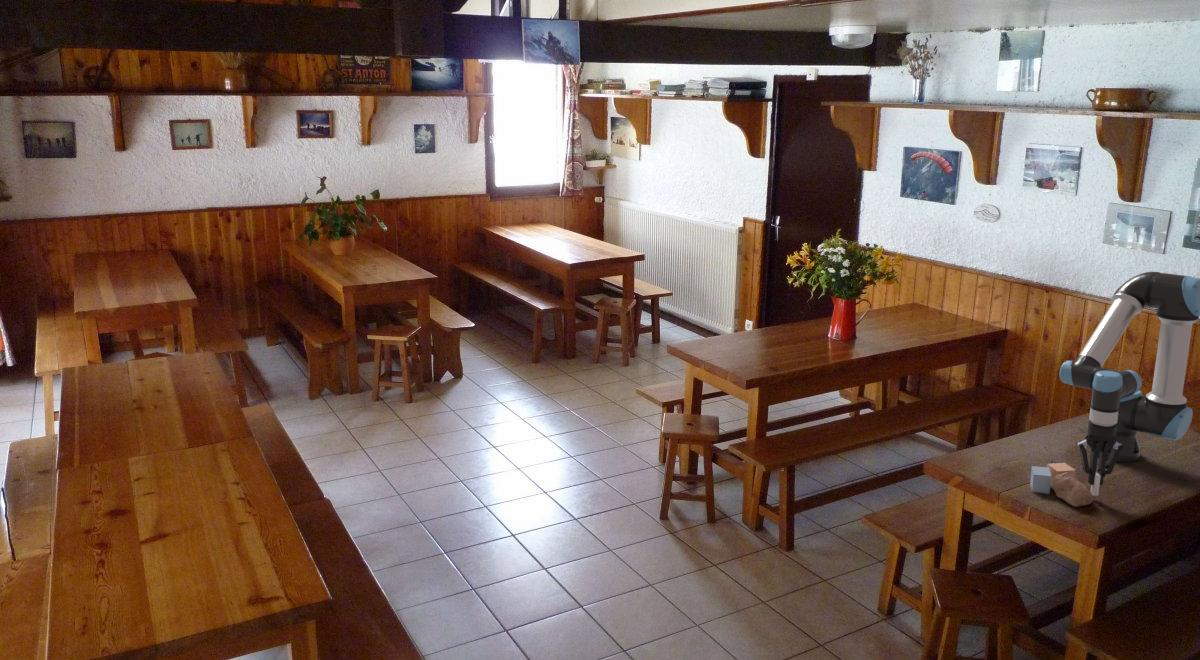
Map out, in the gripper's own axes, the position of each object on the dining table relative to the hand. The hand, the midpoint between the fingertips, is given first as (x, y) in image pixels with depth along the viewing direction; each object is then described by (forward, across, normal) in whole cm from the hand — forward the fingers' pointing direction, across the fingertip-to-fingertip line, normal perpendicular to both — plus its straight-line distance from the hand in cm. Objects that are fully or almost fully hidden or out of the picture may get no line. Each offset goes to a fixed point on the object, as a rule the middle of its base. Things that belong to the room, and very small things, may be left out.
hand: (1094, 494), depth 286 cm
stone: (+2, +6, 0) cm, 6 cm away
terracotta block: (+2, +7, -11) cm, 13 cm away
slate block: (+2, +14, -7) cm, 16 cm away
